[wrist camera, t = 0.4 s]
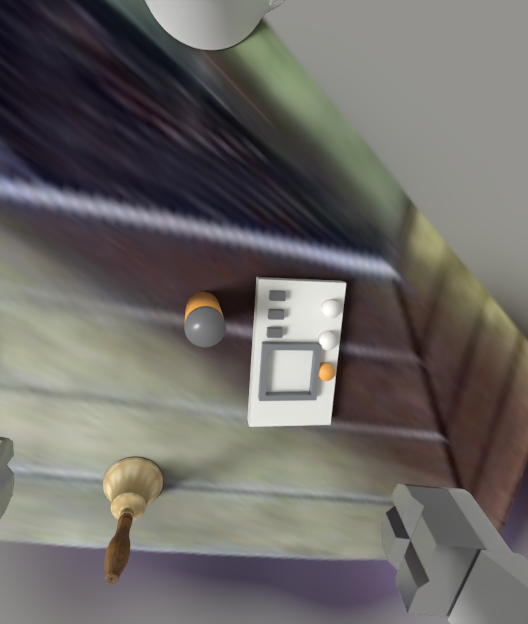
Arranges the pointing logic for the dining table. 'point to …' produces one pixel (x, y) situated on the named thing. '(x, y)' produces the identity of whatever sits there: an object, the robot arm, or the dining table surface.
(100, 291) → the dining table surface
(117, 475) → the hand bell
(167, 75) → the dining table surface
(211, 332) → the orange capped cylinder
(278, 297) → the board
